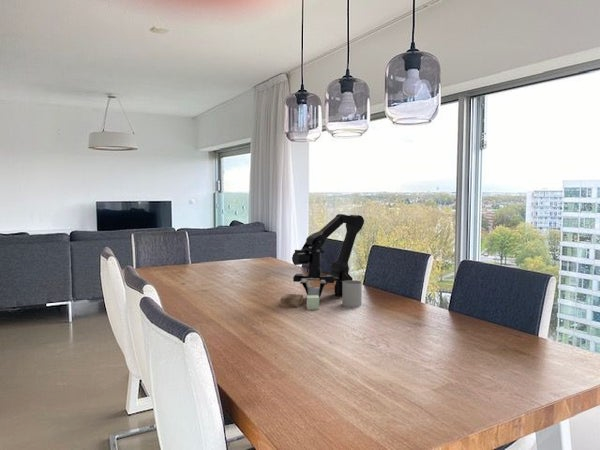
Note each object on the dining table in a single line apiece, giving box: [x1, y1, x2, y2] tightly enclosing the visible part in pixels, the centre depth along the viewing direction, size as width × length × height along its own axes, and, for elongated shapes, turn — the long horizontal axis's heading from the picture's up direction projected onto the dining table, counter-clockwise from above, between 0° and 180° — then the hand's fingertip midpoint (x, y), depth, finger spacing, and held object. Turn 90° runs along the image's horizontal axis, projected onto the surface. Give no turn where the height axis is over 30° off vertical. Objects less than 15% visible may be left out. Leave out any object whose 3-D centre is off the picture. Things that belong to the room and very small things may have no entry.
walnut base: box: [280, 293, 304, 308], centre depth 206 cm, size 8×8×4 cm
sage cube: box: [305, 294, 320, 310], centre depth 201 cm, size 5×5×5 cm
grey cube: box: [308, 286, 321, 300], centre depth 217 cm, size 5×5×5 cm
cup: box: [341, 279, 363, 308], centre depth 206 cm, size 8×8×10 cm
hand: (314, 296), depth 217 cm, fingers closed on grey cube, 5 cm apart
